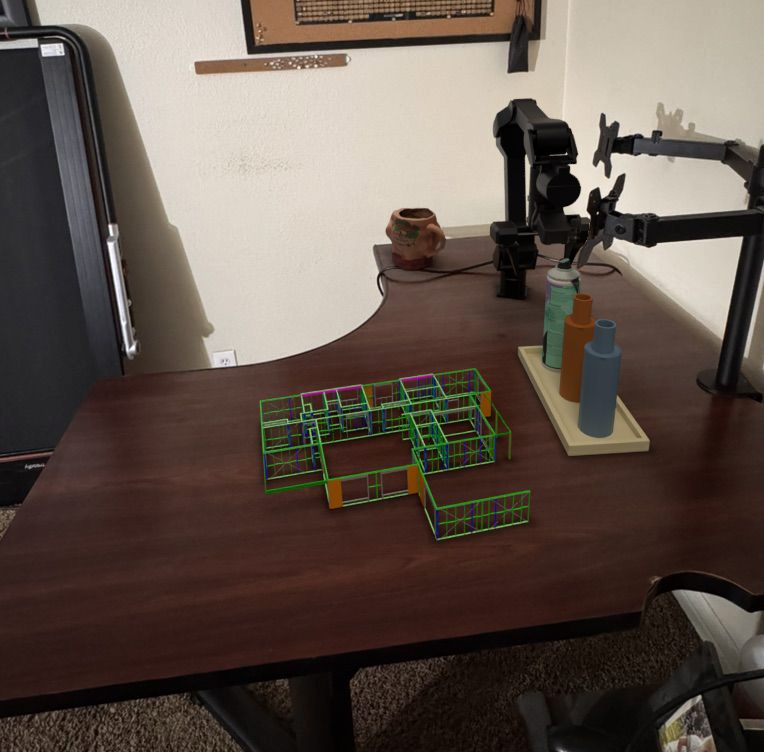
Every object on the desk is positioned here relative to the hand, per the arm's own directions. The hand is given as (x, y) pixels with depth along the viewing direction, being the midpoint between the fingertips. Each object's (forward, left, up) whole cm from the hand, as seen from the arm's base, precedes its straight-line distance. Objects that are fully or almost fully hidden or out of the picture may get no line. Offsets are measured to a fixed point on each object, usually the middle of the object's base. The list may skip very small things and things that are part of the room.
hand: (541, 274), depth 118 cm
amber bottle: (+19, +7, -13) cm, 25 cm away
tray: (+19, +7, -13) cm, 25 cm away
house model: (+43, -17, -13) cm, 48 cm away
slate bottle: (+28, +10, -13) cm, 33 cm away
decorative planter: (-32, -32, -13) cm, 47 cm away
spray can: (+11, +4, -13) cm, 17 cm away
